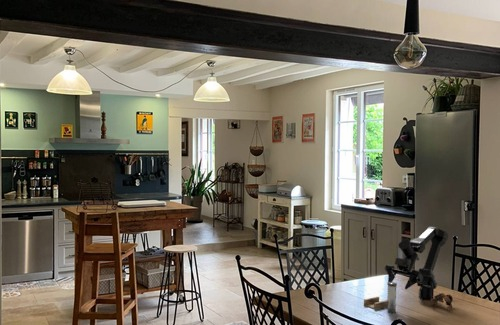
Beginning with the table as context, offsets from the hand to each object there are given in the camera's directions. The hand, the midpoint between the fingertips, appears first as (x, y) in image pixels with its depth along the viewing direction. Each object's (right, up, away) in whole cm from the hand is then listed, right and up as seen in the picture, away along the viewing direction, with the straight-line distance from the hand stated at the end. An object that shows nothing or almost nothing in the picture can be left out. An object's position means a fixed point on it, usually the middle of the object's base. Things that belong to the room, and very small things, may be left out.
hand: (396, 287), depth 244 cm
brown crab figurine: (+25, -12, +5) cm, 28 cm away
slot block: (-8, -11, +6) cm, 15 cm away
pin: (-4, -11, -3) cm, 12 cm away
